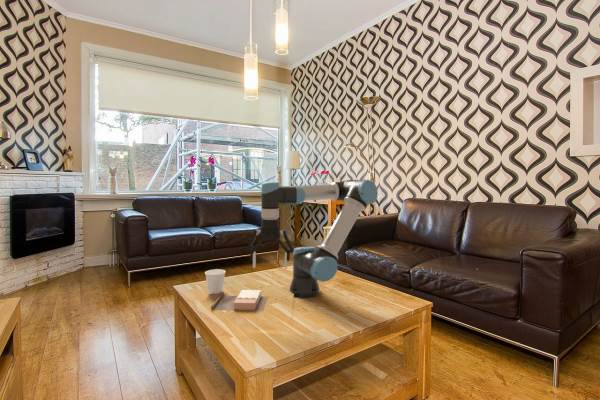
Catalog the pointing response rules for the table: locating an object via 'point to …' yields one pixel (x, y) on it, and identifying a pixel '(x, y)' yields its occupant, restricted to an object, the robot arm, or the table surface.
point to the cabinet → (245, 304)
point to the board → (228, 303)
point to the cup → (215, 280)
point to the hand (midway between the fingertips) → (270, 267)
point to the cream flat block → (250, 294)
